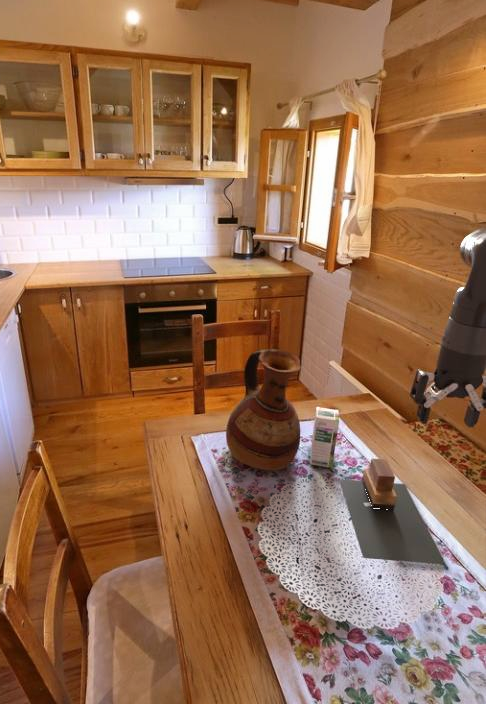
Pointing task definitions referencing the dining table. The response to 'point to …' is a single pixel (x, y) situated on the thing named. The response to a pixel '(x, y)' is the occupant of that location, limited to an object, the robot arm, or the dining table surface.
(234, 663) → the dining table surface
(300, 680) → the dining table surface
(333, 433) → the syrup box
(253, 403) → the ceramic pitcher
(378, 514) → the slate board
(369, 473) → the eraser
